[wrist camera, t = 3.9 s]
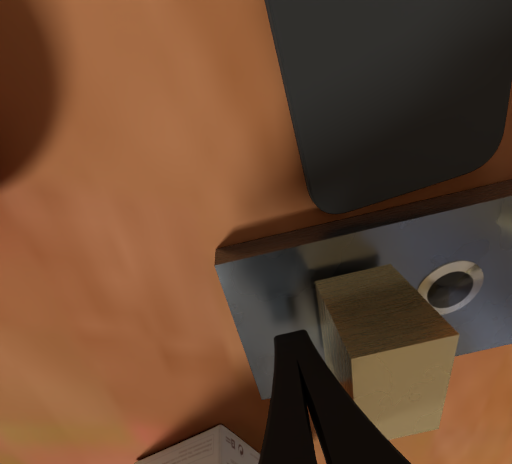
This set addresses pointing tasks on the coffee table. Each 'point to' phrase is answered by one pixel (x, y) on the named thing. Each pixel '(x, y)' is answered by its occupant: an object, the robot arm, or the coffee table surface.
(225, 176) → the coffee table surface
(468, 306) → the plate
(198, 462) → the supplement box
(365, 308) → the wooden block
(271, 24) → the phone
